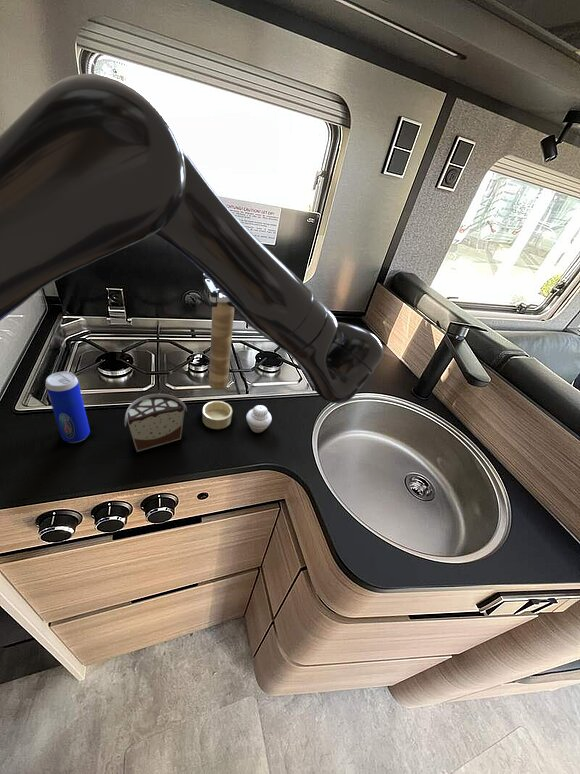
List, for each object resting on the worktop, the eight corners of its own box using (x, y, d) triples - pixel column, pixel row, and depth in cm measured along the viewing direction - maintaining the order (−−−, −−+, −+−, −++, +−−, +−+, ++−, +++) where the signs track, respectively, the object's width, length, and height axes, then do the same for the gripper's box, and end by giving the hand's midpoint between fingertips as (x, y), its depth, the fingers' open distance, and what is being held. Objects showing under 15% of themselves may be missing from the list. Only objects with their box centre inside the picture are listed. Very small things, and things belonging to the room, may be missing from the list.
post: (214, 391, 73) (221, 274, 58) (205, 381, 75) (209, 266, 60) (231, 386, 76) (241, 273, 60) (221, 376, 78) (229, 265, 63)
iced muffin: (178, 420, 80) (177, 387, 74) (187, 437, 76) (187, 403, 70) (122, 434, 73) (116, 399, 67) (129, 454, 69) (123, 419, 63)
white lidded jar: (274, 432, 82) (278, 411, 78) (253, 440, 79) (256, 418, 75) (261, 416, 86) (264, 396, 82) (240, 423, 82) (243, 402, 78)
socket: (211, 433, 78) (211, 423, 77) (197, 415, 82) (197, 406, 80) (236, 423, 82) (237, 414, 81) (221, 406, 86) (222, 397, 85)
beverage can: (55, 438, 69) (36, 380, 60) (77, 423, 73) (62, 367, 64) (75, 448, 68) (58, 390, 59) (96, 432, 72) (83, 376, 63)
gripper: (308, 286, 56) (250, 253, 65) (235, 295, 47) (181, 255, 57) (299, 326, 60) (246, 290, 69) (231, 341, 51) (181, 297, 61)
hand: (217, 275), depth 63 cm, fingers closed on post, 4 cm apart
